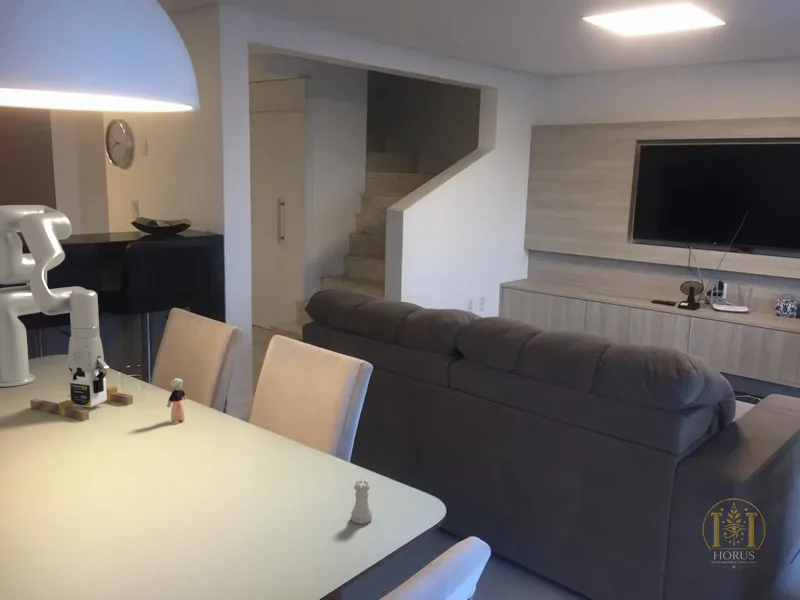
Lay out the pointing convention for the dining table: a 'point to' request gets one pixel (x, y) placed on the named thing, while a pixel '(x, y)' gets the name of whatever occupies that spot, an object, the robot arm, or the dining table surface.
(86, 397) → the medicine bottle
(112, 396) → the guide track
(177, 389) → the grandmother figurine
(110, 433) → the dining table surface
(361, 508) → the rook chess piece
